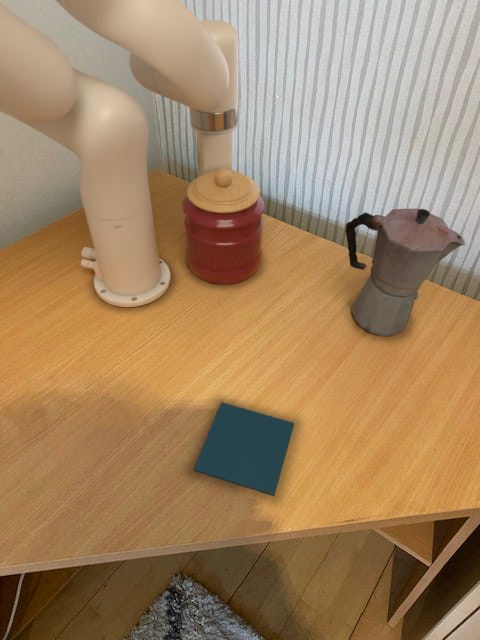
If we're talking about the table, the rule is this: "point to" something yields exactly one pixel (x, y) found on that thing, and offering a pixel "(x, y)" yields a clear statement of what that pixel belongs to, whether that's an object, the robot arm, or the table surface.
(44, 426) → the table surface
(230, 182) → the kitchen canister
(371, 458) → the table surface
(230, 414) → the cloth
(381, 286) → the moka pot
